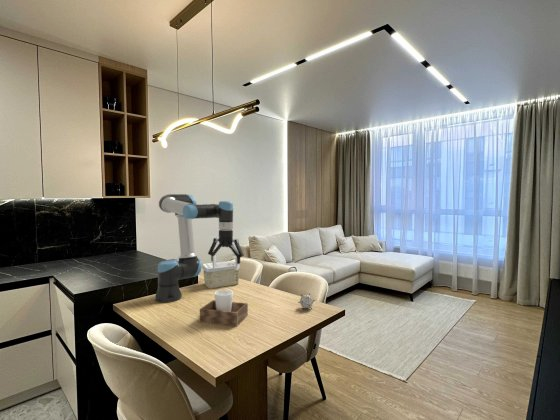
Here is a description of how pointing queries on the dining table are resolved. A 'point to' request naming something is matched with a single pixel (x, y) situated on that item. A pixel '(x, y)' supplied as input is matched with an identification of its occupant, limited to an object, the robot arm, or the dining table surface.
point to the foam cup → (223, 300)
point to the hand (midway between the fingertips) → (225, 268)
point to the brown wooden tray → (224, 314)
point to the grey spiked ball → (306, 301)
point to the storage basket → (220, 274)
